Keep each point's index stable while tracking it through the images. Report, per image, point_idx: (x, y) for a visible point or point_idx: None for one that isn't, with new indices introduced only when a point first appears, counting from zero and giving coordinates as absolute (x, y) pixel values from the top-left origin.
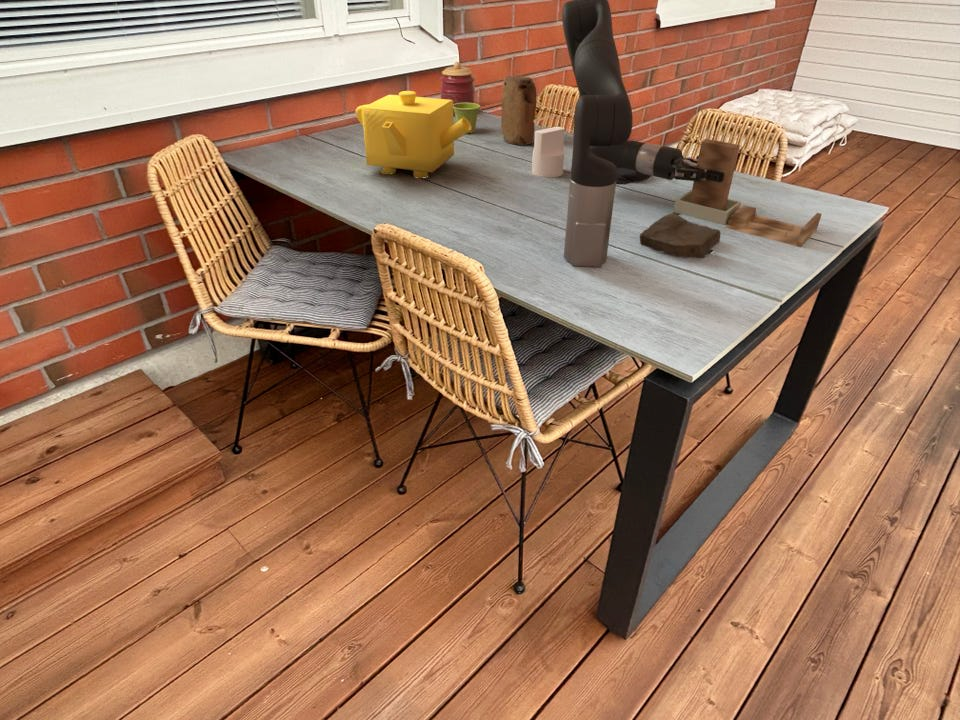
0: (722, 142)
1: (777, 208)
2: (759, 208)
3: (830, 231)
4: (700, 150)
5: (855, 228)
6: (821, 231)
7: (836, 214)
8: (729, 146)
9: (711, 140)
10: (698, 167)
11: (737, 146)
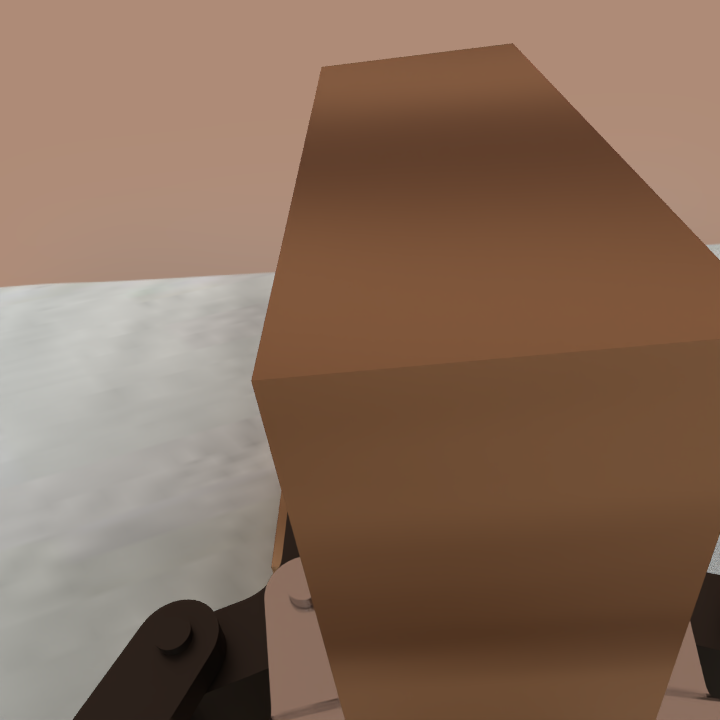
0: (344, 146)
1: (41, 499)
2: (76, 563)
3: (245, 308)
4: (698, 541)
5: (171, 284)
6: (263, 321)
7: (43, 343)
8: (498, 70)
9: (346, 259)
10: (688, 690)
11: (408, 57)
